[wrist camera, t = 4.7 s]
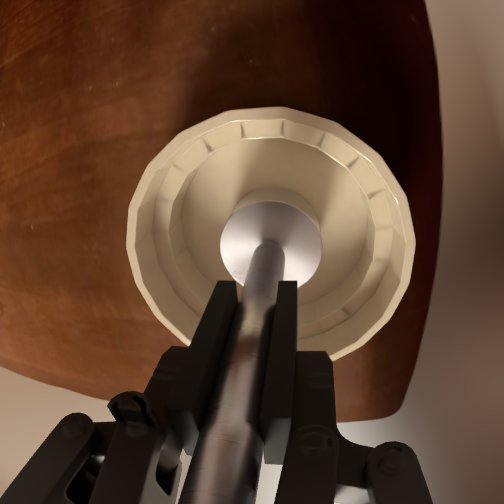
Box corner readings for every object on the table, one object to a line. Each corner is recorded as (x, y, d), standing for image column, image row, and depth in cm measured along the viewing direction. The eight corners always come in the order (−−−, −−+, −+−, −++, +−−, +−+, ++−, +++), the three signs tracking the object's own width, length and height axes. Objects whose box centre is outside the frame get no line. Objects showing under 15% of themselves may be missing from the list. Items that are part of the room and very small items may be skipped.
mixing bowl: (389, 108, 18) (423, 110, 12) (375, 317, 25) (389, 368, 19) (150, 122, 20) (104, 130, 15) (184, 316, 27) (160, 363, 22)
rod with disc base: (319, 185, 19) (375, 551, 3) (319, 270, 22) (325, 578, 5) (224, 188, 20) (20, 476, 3) (233, 271, 23) (133, 550, 6)
